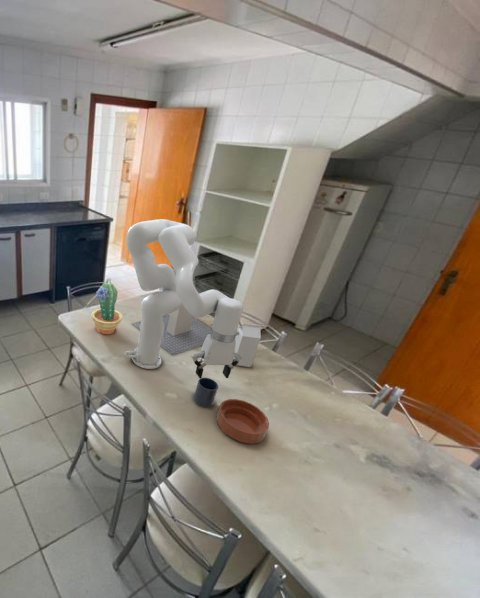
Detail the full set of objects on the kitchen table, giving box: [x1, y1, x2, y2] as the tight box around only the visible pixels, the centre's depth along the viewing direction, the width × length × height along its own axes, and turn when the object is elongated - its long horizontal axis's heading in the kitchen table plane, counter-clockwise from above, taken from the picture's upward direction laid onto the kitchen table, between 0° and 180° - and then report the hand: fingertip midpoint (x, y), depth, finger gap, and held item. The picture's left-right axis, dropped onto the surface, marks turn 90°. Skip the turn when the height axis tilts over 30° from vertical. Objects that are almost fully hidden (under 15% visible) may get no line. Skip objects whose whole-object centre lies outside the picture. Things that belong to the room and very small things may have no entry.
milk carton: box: [234, 323, 262, 368], centre depth 140 cm, size 7×7×19 cm
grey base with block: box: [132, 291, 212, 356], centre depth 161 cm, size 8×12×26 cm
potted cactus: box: [91, 281, 124, 335], centre depth 158 cm, size 15×15×25 cm
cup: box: [193, 377, 219, 408], centre depth 120 cm, size 7×7×8 cm
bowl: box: [215, 398, 270, 445], centre depth 110 cm, size 15×15×5 cm
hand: (211, 375), depth 116 cm, fingers open, 9 cm apart
